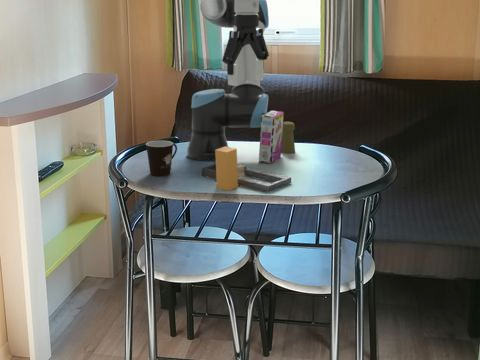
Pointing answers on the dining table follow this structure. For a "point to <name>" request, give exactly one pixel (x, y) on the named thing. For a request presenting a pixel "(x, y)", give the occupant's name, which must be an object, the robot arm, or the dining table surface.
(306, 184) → the dining table surface
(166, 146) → the coffee mug
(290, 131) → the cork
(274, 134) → the candy bar box
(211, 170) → the frame
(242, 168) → the tan wooden cube
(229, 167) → the orange rectangular block
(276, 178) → the grey flat rectangular tray
